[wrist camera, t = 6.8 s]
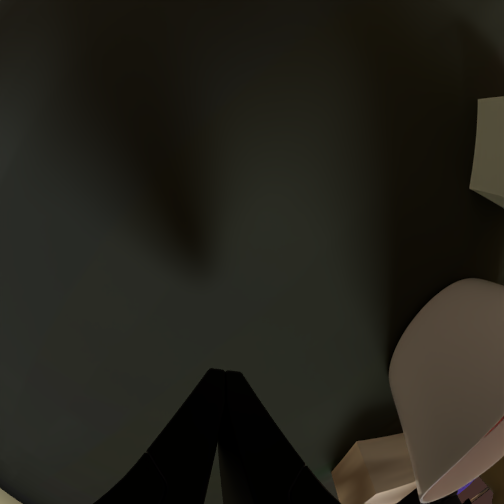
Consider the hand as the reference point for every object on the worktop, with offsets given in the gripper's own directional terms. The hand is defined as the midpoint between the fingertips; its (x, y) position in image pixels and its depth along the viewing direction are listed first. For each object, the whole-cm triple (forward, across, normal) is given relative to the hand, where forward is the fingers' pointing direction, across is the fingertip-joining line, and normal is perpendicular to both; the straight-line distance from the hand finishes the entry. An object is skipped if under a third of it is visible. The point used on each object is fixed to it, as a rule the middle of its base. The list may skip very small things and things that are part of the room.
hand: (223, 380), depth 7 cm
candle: (+3, -10, 0) cm, 11 cm away
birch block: (+2, -10, +9) cm, 14 cm away
